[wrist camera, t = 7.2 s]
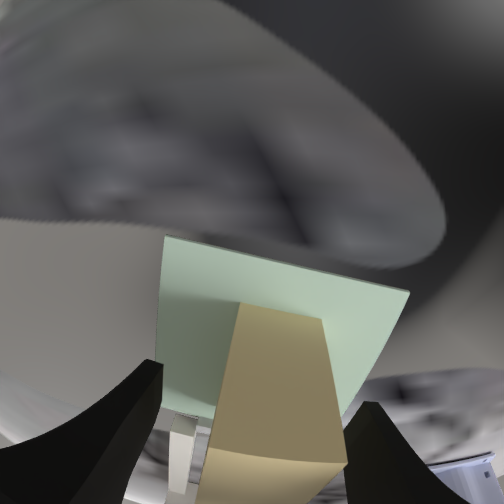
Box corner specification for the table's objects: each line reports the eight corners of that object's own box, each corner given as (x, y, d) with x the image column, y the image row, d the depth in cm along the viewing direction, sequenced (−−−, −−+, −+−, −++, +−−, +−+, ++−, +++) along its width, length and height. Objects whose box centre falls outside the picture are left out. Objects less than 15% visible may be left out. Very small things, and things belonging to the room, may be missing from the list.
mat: (408, 290, 10) (410, 292, 10) (326, 434, 14) (326, 437, 13) (166, 234, 10) (164, 236, 10) (155, 402, 13) (154, 404, 13)
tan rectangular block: (321, 319, 11) (347, 463, 5) (278, 418, 13) (274, 530, 7) (240, 301, 11) (208, 446, 5) (215, 406, 13) (191, 518, 7)
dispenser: (307, 432, 13) (310, 479, 11) (259, 500, 17) (256, 531, 15) (176, 407, 13) (160, 453, 11) (171, 483, 17) (163, 513, 15)
